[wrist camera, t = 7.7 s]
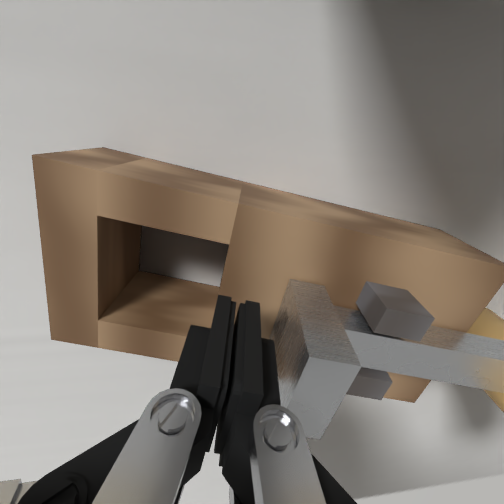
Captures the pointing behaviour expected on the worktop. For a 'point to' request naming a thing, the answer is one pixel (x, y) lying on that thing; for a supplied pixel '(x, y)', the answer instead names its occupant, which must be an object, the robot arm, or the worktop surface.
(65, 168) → the socket block
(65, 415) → the worktop surface
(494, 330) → the peg
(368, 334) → the lock pin
